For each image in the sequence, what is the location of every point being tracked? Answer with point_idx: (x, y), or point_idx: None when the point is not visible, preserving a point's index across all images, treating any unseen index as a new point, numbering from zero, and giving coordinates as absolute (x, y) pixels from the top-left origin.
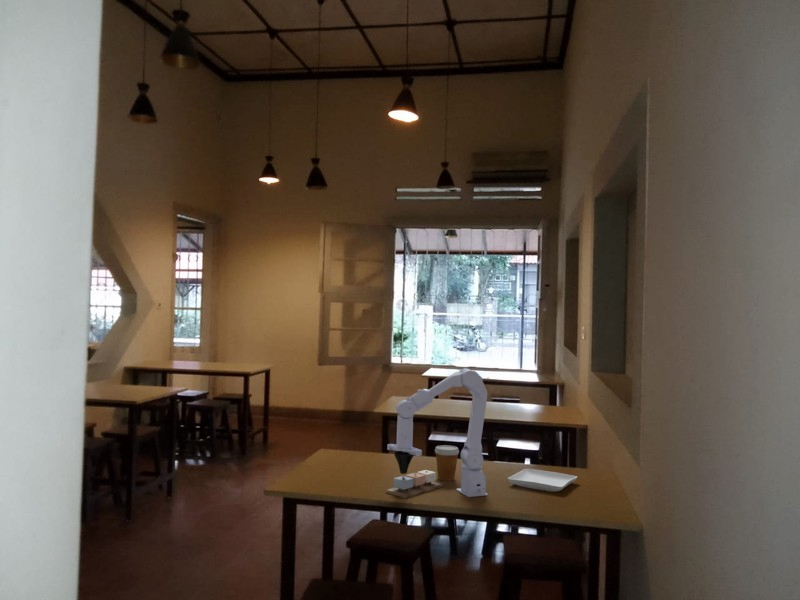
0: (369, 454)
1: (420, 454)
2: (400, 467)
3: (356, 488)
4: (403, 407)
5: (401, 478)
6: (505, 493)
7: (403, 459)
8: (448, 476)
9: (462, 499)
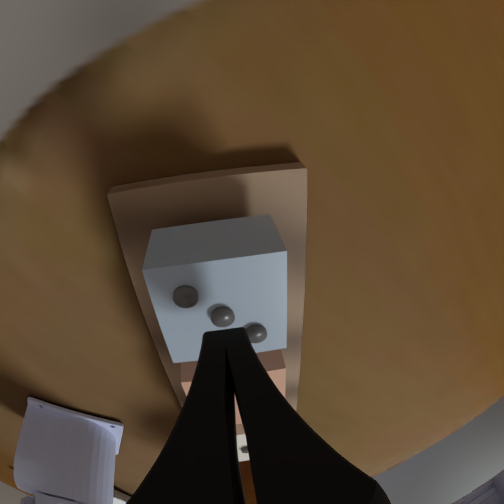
0: None
1: None
2: (237, 374)
3: (473, 101)
4: None
5: (230, 300)
6: None
7: (157, 486)
8: (242, 462)
9: (11, 370)
